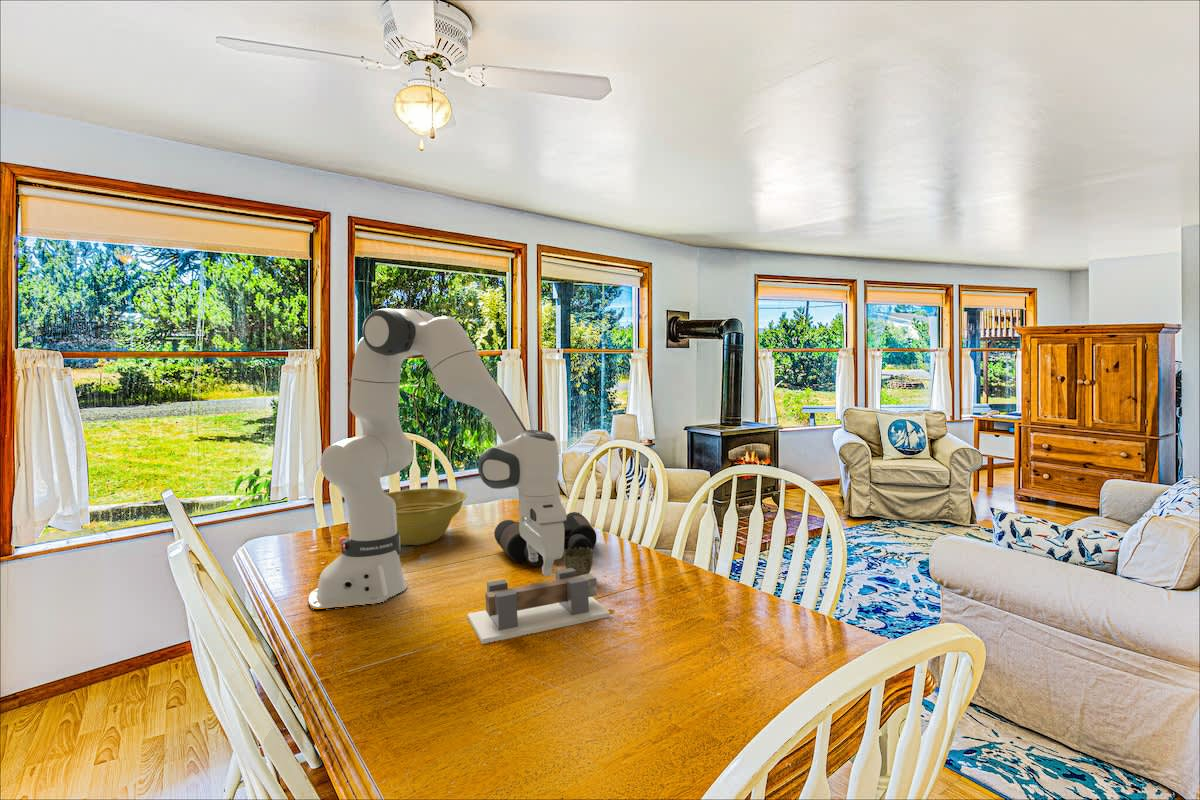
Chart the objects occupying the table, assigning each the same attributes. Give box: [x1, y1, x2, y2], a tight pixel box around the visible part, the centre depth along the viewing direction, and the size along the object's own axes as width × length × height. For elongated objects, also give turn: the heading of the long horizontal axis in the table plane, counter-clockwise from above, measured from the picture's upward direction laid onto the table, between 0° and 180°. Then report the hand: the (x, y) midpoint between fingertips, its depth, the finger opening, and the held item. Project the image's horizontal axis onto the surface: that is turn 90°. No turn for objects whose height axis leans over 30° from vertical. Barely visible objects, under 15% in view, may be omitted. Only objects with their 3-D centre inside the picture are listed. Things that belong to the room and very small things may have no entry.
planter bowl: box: [385, 487, 468, 546], centre depth 196 cm, size 32×32×13 cm
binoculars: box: [493, 511, 597, 567], centre depth 177 cm, size 29×20×10 cm
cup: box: [563, 547, 594, 576], centre depth 154 cm, size 8×7×8 cm
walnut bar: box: [485, 572, 598, 616], centre depth 133 cm, size 24×3×4 cm, turn 114°
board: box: [467, 568, 611, 645], centre depth 133 cm, size 28×14×8 cm, turn 114°
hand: (540, 567), depth 133 cm, fingers open, 8 cm apart
